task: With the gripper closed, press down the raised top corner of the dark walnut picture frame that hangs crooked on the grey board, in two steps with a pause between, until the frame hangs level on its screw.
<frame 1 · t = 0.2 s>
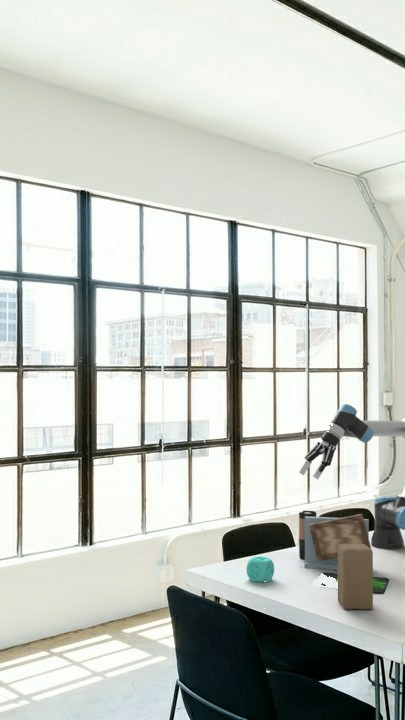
hand: (307, 475, 298), 36 cm above the table, tool tilted 35°, fingers open, 13 cm apart
grey board: (336, 566, 282), on the table
decorative dice: (260, 580, 262), on the table
travel mug: (307, 558, 297), on the table
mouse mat: (350, 584, 259), on the table
walnut frame: (340, 537, 277), point 13 cm above the table, hinge at 14.0°
wooden block: (355, 606, 231), on the table
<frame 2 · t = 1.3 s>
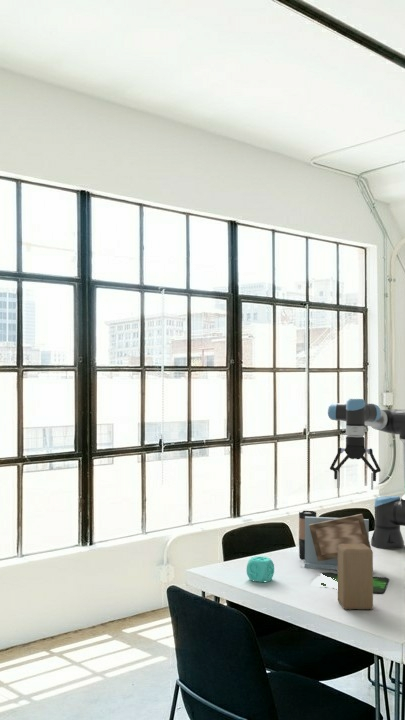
hand: (354, 488, 278), 33 cm above the table, tool pointing down, fingers open, 13 cm apart
nothing on the table moved.
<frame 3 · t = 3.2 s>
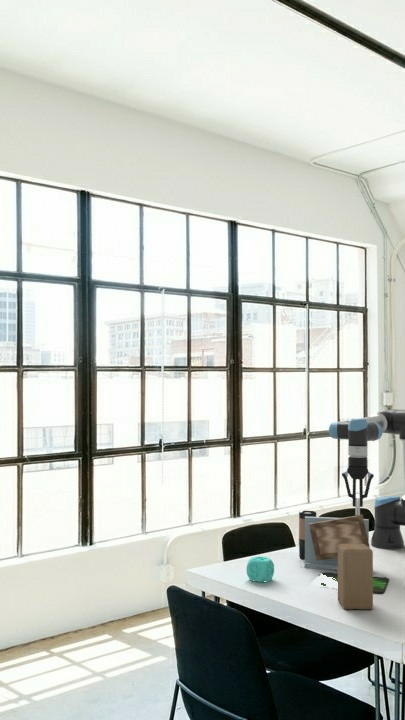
hand: (357, 514, 276), 23 cm above the table, tool pointing down, fingers closed
walnut frame: (339, 537, 277), point 13 cm above the table, hinge at 12.0°, touching gripper
everything else where it was.
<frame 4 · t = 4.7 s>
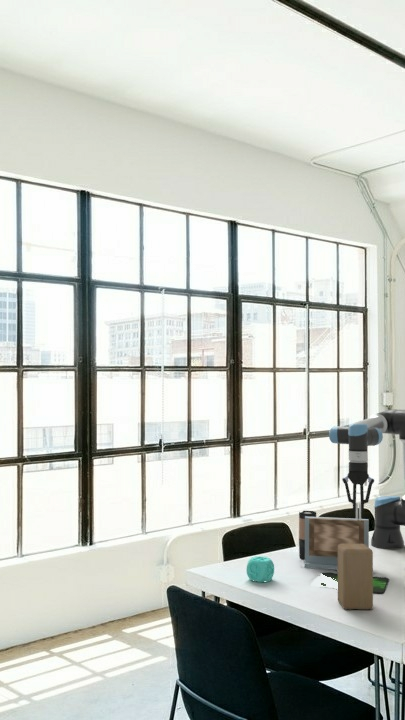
hand: (358, 519, 276), 21 cm above the table, tool pointing down, fingers closed, pressing on walnut frame
walnut frame: (336, 537, 278), point 13 cm above the table, hinge at -0.2°, touching gripper
everything else where it was.
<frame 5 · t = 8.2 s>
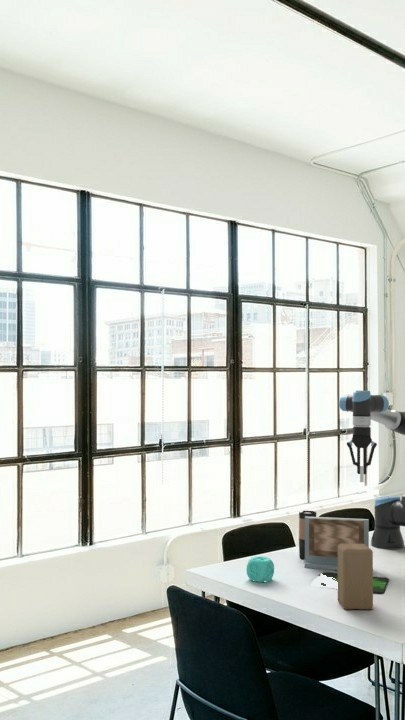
hand: (361, 481, 290), 34 cm above the table, tool pointing down, fingers closed
walnut frame: (336, 537, 278), point 13 cm above the table, hinge at -0.2°
everything else where it was.
at the end: walnut frame at +0° (first picture: +14°); travel mug moved 0.2 cm from its start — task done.
